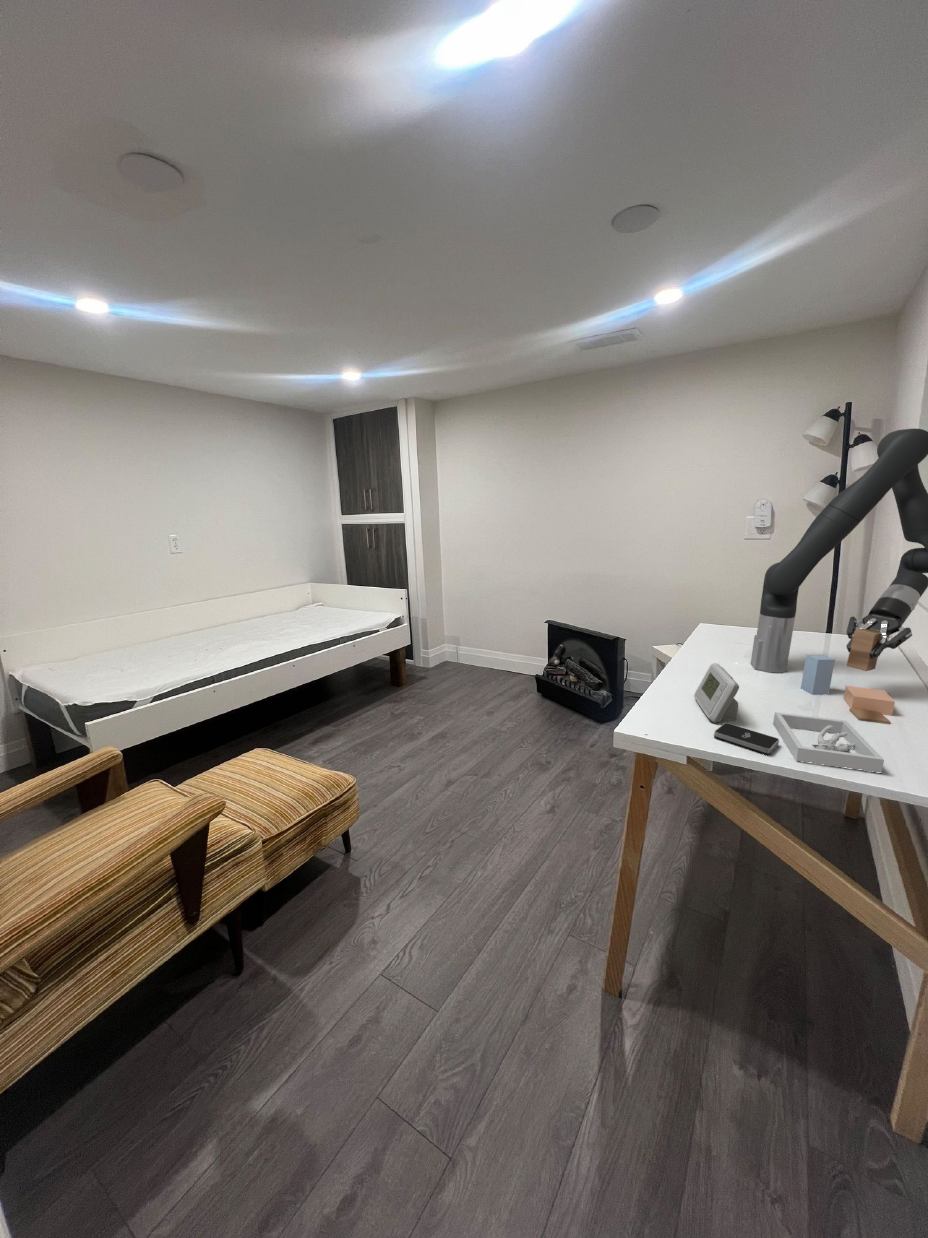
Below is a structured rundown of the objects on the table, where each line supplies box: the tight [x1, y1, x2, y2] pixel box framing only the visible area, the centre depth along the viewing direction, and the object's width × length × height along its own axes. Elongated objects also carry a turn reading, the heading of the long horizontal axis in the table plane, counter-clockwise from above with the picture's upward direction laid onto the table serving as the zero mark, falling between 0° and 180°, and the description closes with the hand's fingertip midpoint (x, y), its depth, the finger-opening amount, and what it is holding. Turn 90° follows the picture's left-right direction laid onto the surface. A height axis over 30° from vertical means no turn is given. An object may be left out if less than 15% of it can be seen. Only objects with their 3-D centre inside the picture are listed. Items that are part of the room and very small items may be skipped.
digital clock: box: [693, 662, 740, 724], centre depth 119 cm, size 16×9×11 cm, turn 157°
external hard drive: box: [713, 722, 780, 757], centre depth 105 cm, size 7×11×2 cm, turn 43°
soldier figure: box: [812, 725, 855, 752], centre depth 99 cm, size 8×5×12 cm
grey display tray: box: [772, 711, 885, 773], centre depth 103 cm, size 14×18×3 cm
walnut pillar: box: [846, 629, 882, 672], centre depth 128 cm, size 4×4×10 cm
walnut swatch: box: [849, 708, 891, 725], centre depth 117 cm, size 6×6×1 cm
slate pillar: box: [800, 654, 836, 696], centre depth 132 cm, size 4×4×10 cm
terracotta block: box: [843, 685, 896, 717], centre depth 123 cm, size 8×8×4 cm
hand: (860, 653), depth 127 cm, fingers closed on walnut pillar, 4 cm apart
